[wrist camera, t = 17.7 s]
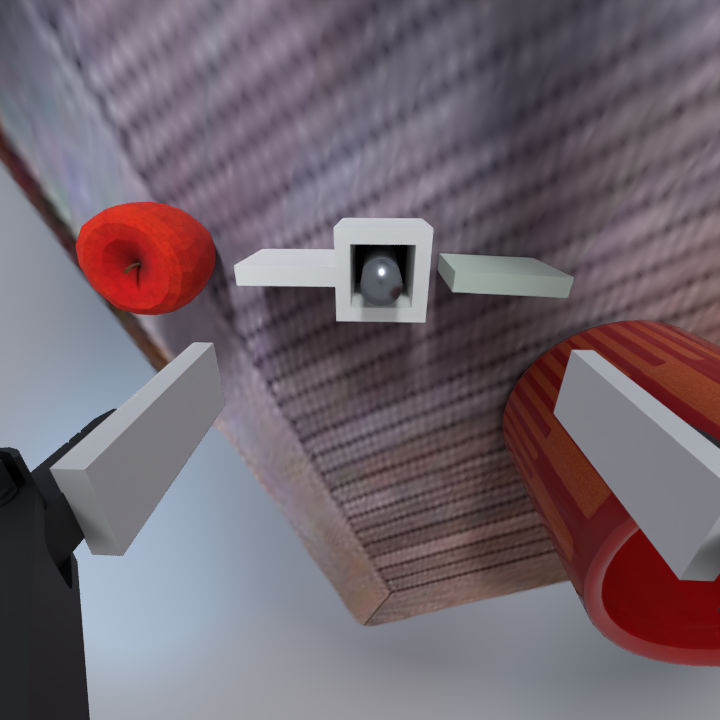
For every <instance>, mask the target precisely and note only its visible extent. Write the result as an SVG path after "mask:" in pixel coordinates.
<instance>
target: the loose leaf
mask: <svg viewBox="0 0 720 720" xmlns="http://www.w3.org/2000/svg"><path fill="white" fill-rule="evenodd" d="M437 270H438V272H439V273H440V275H441V276H442V278H443V279H444V281H445V282H446V283H447V285H448V286H449V288H450V289H451V291H452V292H461V293H481V294H501V295H520V296H540V297H560V298H568V296H569V293H570V289H571V286H572V283H573V279H574V277H572V276H570V275H568V274H566V273H564V272H562V271H560V270H558V269H555V268H553V267H551V266H549V265H547V264H545V263H543V262H541V261H539V260H537V259H535V258H526V257H505V256H485V255H464V254H443V253H439V260H438V268H437Z"/></svg>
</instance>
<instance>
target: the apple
mask: <svg viewBox="0 0 720 720" xmlns="http://www.w3.org/2000/svg"><path fill="white" fill-rule="evenodd" d="M76 250H77V255H78V260H79V265H80V267H81V268H82V270H83V272H84V273H85V275H86V277H87V278H88V280H89V282H90V283H91V285H92V287H93V288H94V289H95V290H97V291H98V292H99V293H100V294H101V295H102V296H104V297H105V298H106V299H107V300H108V301H110V302H111V303H112V304H113V305H114V306H116V307H117V308H118V309H121V310H125V311H128V312H132V313H135V314H143V315H158V314H164V313H169V312H173V311H176V310H177V309H179V308H181V307H183V306H185V305H186V304H188V303H190V302H191V301H192V300H193V299H194V298H195V297H196V296H197V295H198V294H199V293H200V292H201V291H202V290H203V288H204V287H205V285H206V284H207V282H208V280H209V278H210V277H211V275H212V273H213V269H214V266H215V256H216V255H215V245H214V243H213V240H212V237H211V235H210V233H209V232H208V231H207V230H206V229H205V228H204V227H203V226H202V225H201V224H200V223H199V222H198V221H197V220H195V219H194V218H193V217H191V216H190V215H189V214H187V213H186V212H184V211H182V210H180V209H177V208H175V207H172V206H169V205H166V204H161V203H154V202H136V203H127V204H122V205H118V206H114V207H111V208H108V209H105V210H103V211H102V212H100V213H99V214H97V215H96V216H95V217H93V218H92V219H90V220H89V221H88V222H87V223H85V224H84V225H83V226H82V227H81V230H80V233H79V236H78V240H77V243H76Z"/></svg>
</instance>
